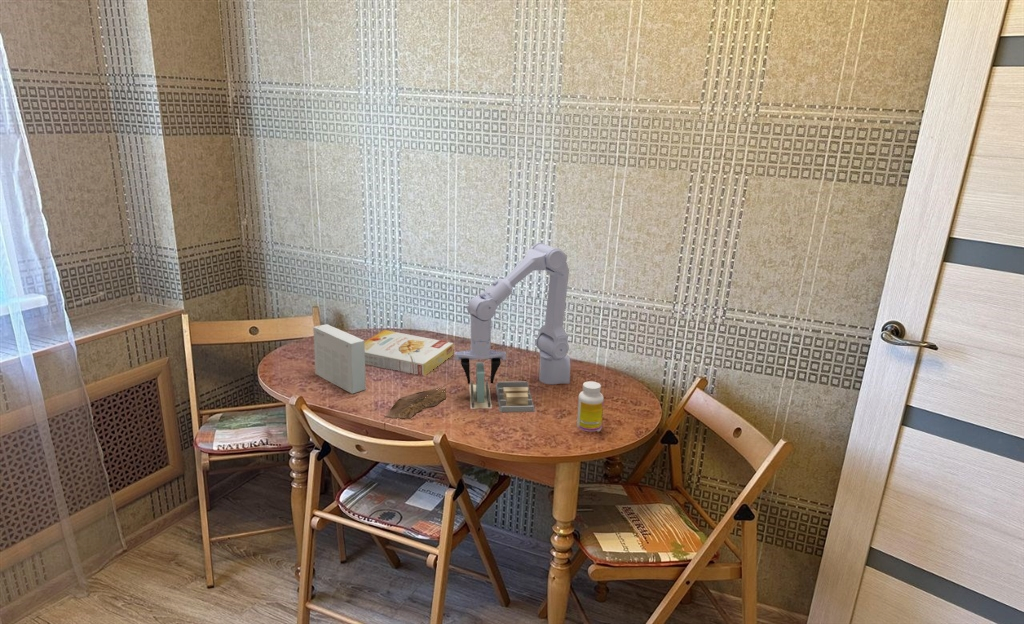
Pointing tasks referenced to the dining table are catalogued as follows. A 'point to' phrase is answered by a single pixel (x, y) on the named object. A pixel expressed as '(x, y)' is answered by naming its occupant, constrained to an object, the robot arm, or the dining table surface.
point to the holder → (473, 397)
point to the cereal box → (406, 352)
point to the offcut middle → (514, 390)
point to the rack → (503, 402)
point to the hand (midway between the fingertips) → (480, 382)
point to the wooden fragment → (415, 403)
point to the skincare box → (339, 358)
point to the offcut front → (516, 399)
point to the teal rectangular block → (480, 382)
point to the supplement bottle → (590, 407)
